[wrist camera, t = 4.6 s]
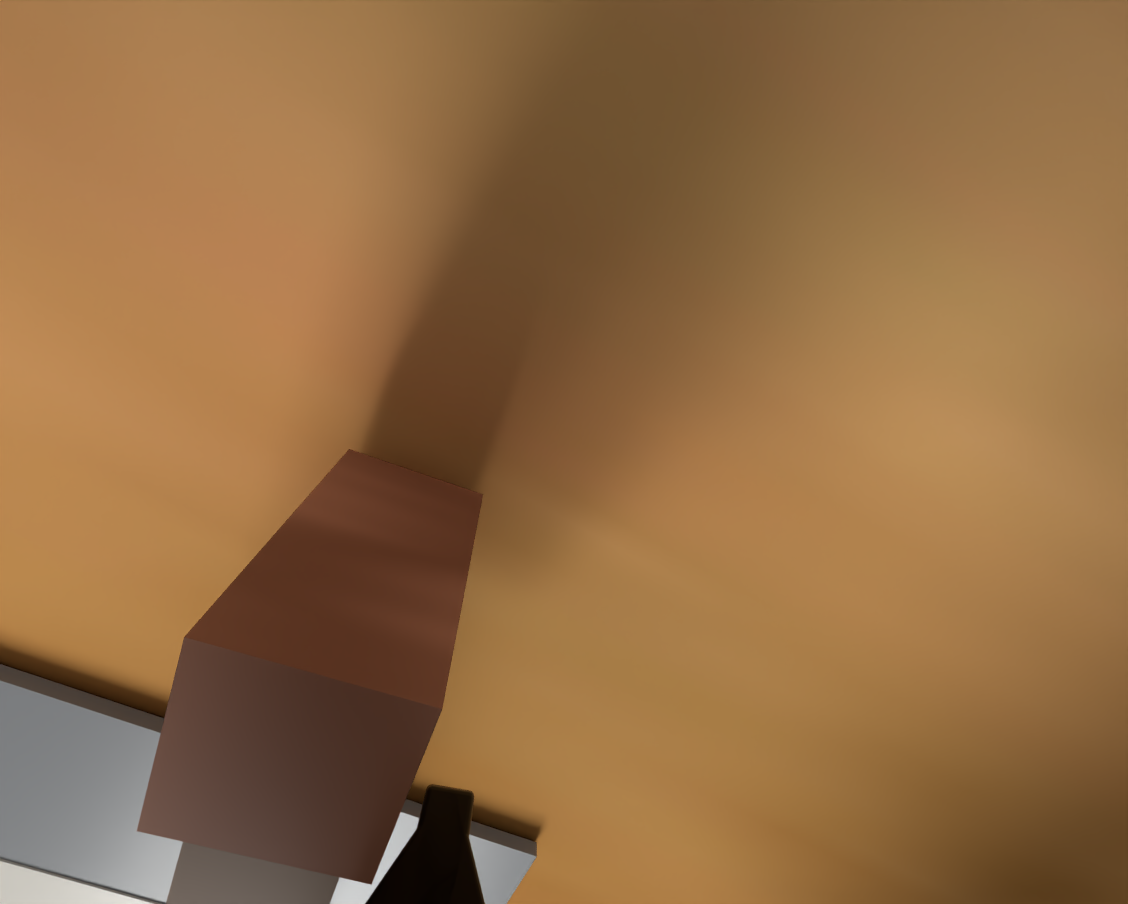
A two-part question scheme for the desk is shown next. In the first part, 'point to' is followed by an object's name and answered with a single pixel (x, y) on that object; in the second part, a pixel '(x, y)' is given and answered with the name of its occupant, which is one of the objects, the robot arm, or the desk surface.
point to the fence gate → (313, 691)
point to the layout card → (132, 807)
